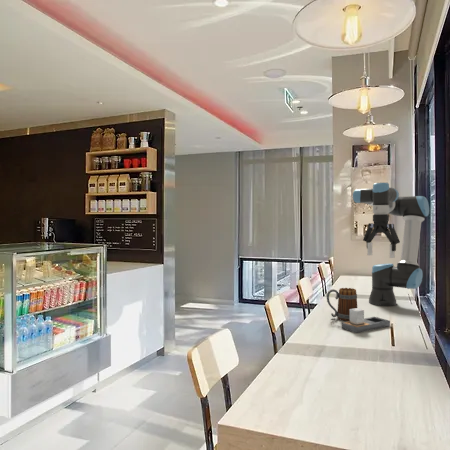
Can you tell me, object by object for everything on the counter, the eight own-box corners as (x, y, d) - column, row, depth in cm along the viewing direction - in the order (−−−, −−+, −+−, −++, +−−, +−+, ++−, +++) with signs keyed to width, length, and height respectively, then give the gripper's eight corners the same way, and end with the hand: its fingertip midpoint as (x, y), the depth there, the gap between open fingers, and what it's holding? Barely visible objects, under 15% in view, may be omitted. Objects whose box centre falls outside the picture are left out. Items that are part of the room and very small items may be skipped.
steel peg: (356, 327, 188) (356, 308, 188) (364, 329, 184) (364, 310, 184) (349, 328, 186) (349, 309, 186) (357, 331, 182) (357, 311, 182)
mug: (355, 316, 208) (355, 287, 207) (360, 321, 197) (360, 291, 197) (325, 315, 209) (325, 287, 209) (328, 321, 199) (328, 291, 198)
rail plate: (374, 321, 197) (374, 316, 197) (390, 326, 189) (390, 320, 189) (341, 328, 187) (341, 322, 187) (356, 333, 179) (356, 327, 179)
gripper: (356, 214, 209) (356, 254, 209) (397, 214, 187) (397, 259, 188) (366, 213, 212) (366, 253, 213) (407, 213, 190) (407, 258, 191)
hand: (380, 256), depth 200 cm, fingers open, 13 cm apart
